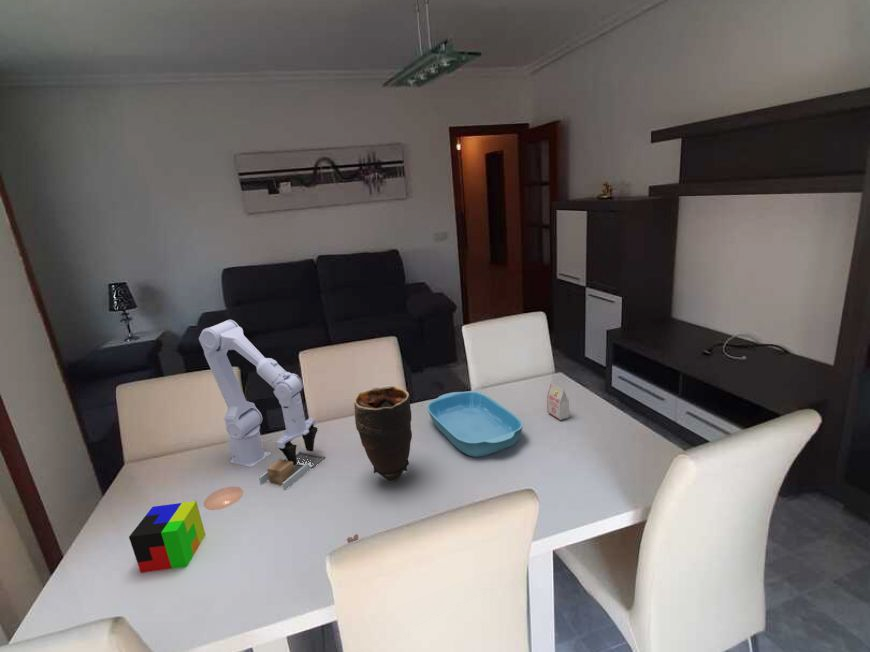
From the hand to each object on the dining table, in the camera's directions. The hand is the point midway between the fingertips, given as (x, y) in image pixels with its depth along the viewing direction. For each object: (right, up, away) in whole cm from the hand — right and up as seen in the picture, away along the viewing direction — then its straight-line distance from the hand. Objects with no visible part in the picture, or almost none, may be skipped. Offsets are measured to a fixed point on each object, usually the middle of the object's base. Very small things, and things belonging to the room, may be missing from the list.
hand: (301, 457), depth 137 cm
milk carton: (+81, +10, +16) cm, 83 cm away
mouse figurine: (+24, -12, -40) cm, 48 cm away
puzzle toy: (-20, -13, -32) cm, 40 cm away
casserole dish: (+52, +5, +10) cm, 53 cm away
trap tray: (+1, -2, +2) cm, 3 cm away
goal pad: (-17, -8, -13) cm, 23 cm away
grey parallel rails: (-3, -4, -6) cm, 8 cm away
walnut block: (-3, -5, -7) cm, 9 cm away
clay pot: (+28, -3, -11) cm, 30 cm away
